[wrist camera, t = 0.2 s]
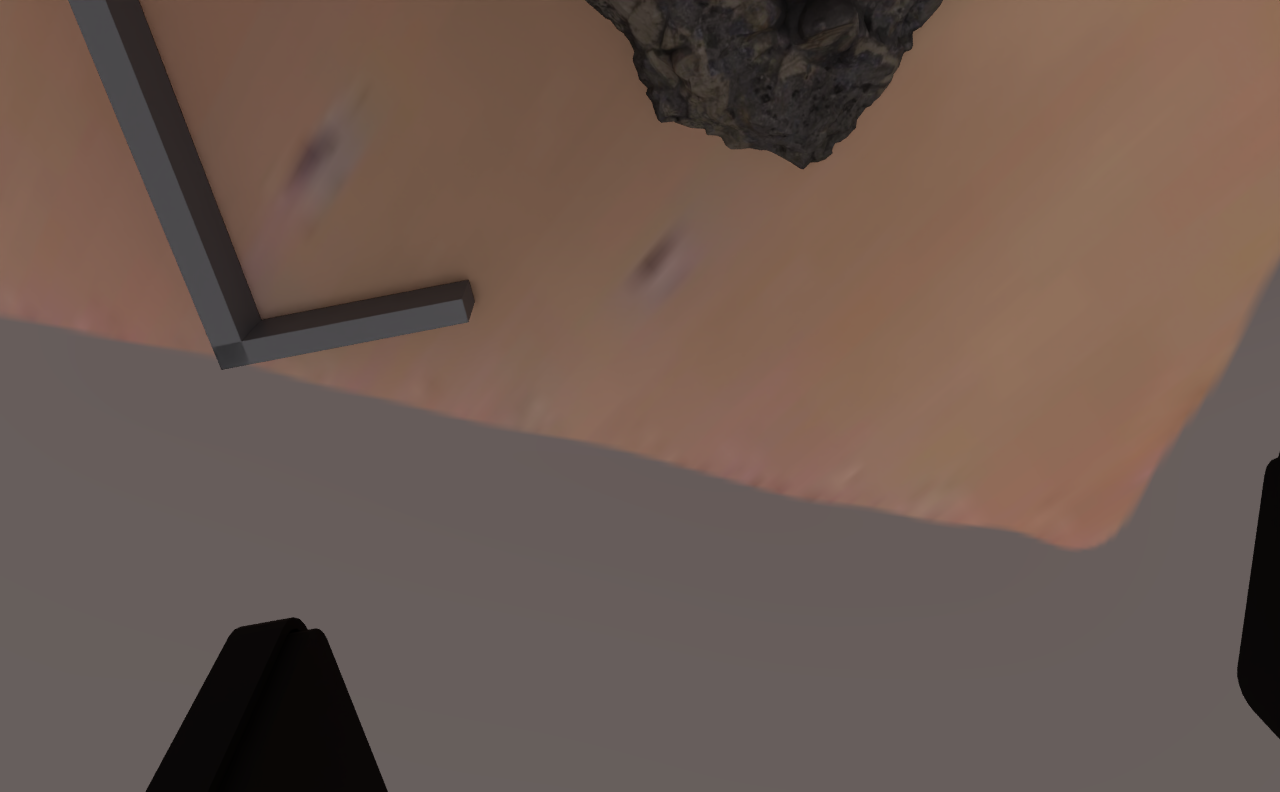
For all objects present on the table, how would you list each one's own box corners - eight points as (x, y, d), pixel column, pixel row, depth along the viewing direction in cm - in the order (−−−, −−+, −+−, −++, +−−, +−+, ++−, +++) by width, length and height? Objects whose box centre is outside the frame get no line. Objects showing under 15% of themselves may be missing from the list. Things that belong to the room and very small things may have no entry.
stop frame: (-19, -306, 29) (-69, -329, 27) (291, -370, 29) (267, -399, 27) (242, 346, 39) (221, 369, 37) (474, 301, 39) (468, 322, 36)
